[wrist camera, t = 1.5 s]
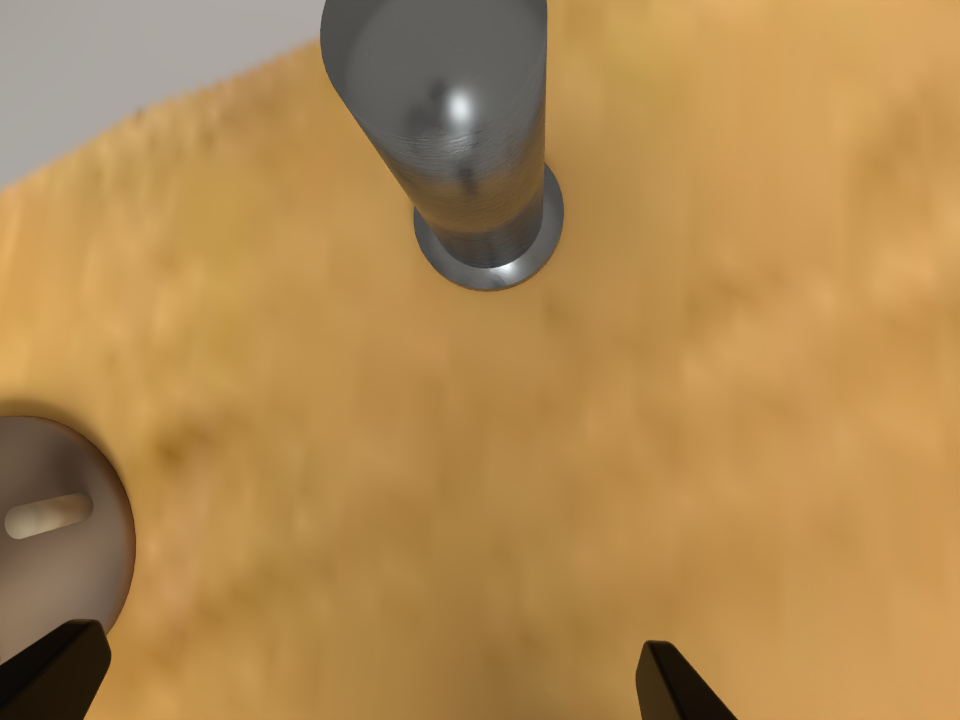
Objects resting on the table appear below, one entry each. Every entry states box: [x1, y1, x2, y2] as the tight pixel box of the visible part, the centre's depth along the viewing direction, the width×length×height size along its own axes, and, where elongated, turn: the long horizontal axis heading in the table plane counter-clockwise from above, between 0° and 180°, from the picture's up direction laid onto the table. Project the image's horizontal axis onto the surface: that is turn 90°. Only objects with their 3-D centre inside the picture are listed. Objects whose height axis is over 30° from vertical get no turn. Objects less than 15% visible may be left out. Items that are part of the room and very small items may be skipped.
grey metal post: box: [320, 0, 564, 292], centre depth 15 cm, size 6×6×11 cm
